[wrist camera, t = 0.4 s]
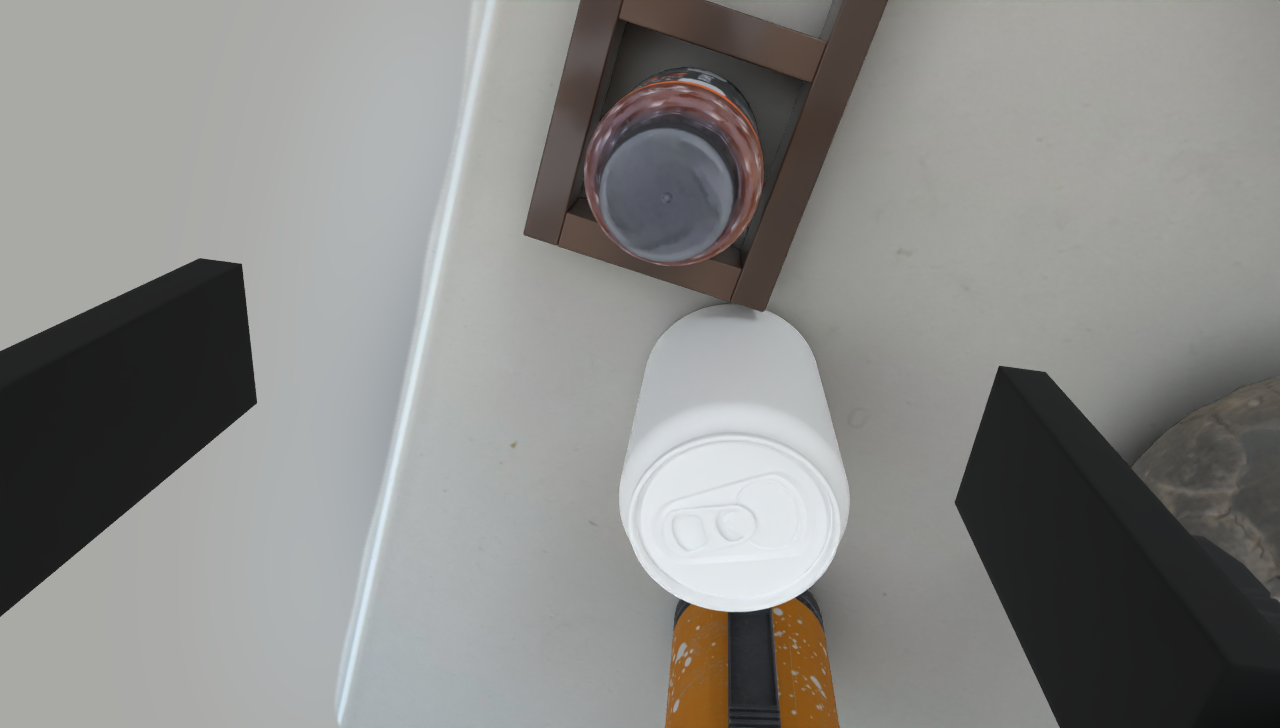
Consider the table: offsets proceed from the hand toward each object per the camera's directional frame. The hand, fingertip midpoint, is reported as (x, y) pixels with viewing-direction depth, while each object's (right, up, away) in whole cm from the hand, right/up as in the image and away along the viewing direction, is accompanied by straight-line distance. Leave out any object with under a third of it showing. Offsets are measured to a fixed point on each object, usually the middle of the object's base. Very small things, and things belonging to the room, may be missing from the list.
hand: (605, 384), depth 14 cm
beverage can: (+5, 0, +24) cm, 24 cm away
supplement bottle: (+3, +10, +20) cm, 22 cm away
